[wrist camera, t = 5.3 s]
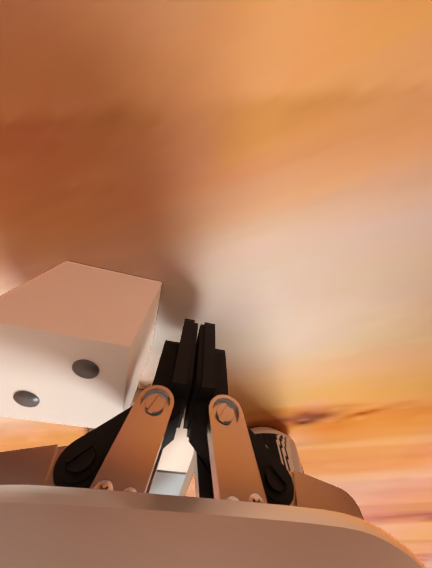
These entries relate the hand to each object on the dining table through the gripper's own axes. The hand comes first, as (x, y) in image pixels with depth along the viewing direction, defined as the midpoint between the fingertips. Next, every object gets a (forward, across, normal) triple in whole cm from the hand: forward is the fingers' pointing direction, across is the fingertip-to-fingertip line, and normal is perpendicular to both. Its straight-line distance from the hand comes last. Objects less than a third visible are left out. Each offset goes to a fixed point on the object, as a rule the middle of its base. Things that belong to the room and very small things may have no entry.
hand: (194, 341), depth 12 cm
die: (+1, +5, 0) cm, 5 cm away
